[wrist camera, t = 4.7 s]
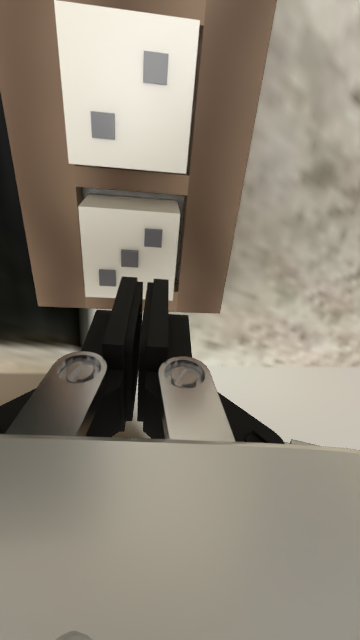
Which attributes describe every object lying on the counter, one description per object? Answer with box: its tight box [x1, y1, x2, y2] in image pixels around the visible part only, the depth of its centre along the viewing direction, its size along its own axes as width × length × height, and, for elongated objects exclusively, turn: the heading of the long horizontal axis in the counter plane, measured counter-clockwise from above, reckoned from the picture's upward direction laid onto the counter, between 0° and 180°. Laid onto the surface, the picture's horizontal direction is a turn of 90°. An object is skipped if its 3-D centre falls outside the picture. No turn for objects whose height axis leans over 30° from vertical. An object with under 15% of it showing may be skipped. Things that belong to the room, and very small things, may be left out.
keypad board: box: [0, 0, 277, 314], centre depth 16 cm, size 12×23×2 cm, turn 175°
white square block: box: [78, 194, 180, 301], centre depth 18 cm, size 5×5×3 cm
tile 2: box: [54, 0, 200, 174], centre depth 13 cm, size 5×5×3 cm
